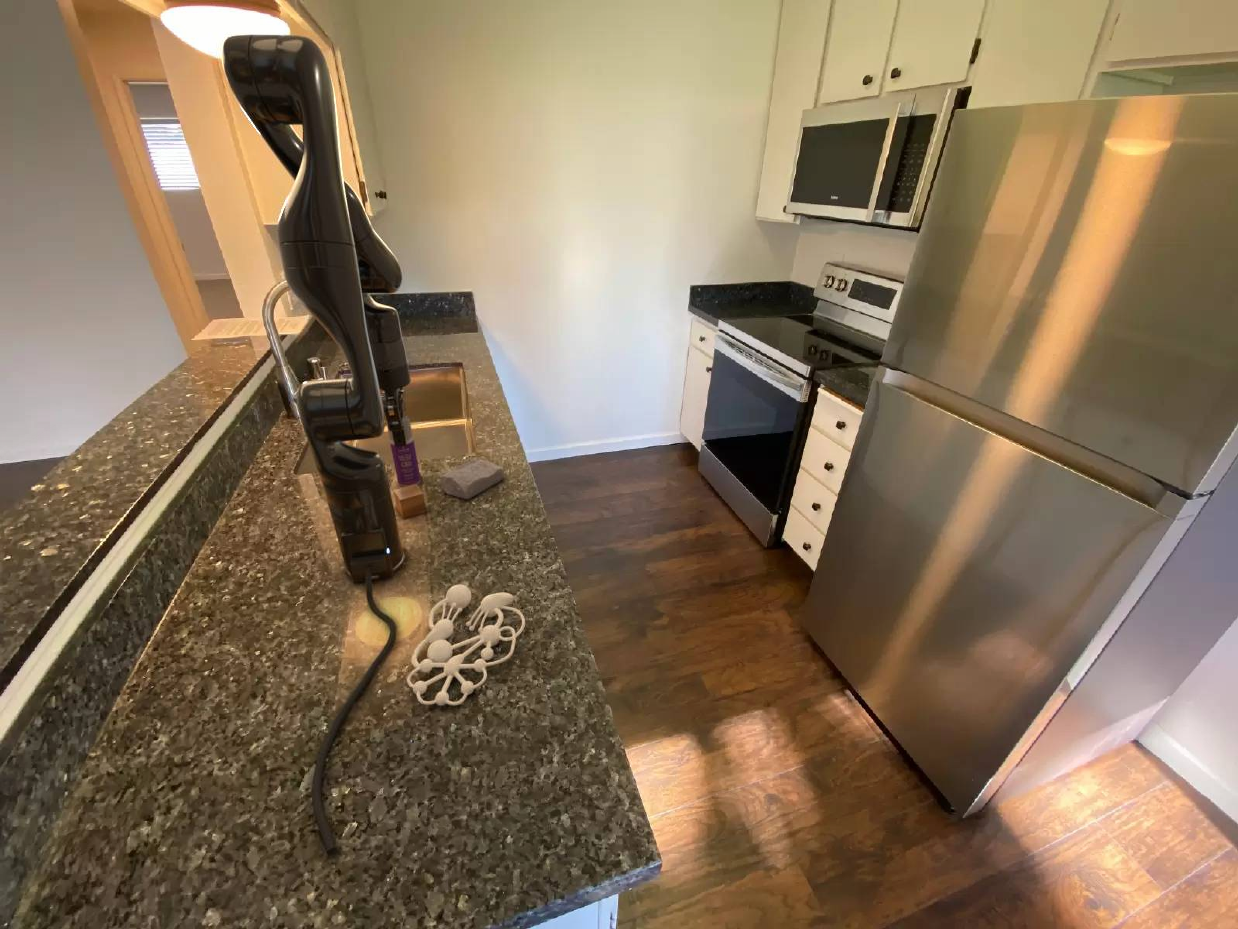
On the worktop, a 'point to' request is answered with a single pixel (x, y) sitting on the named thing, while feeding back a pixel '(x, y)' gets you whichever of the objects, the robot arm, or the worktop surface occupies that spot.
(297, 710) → the worktop surface
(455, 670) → the tangled rod sculpture
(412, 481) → the container
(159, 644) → the worktop surface
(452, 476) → the stone block
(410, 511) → the oak cube
